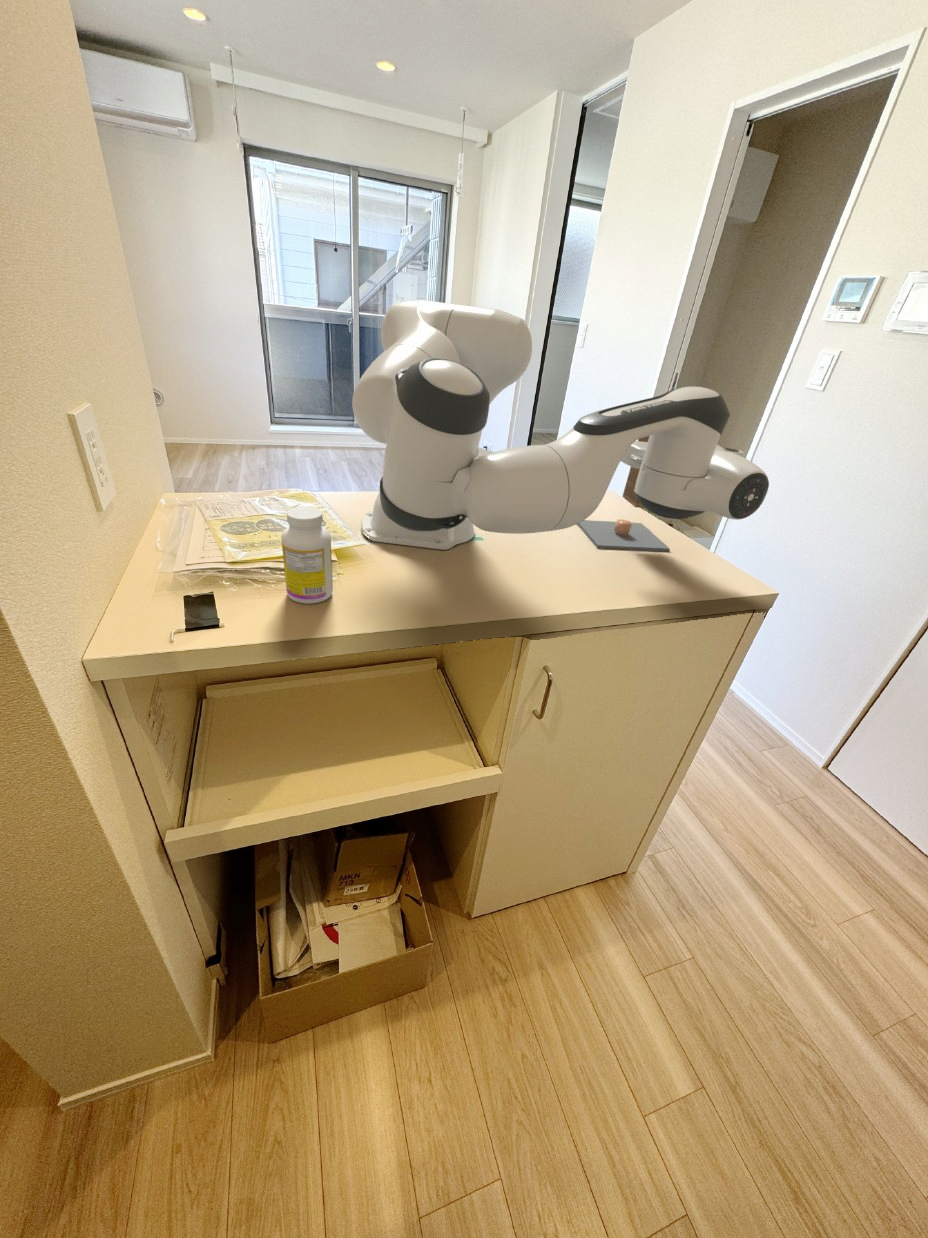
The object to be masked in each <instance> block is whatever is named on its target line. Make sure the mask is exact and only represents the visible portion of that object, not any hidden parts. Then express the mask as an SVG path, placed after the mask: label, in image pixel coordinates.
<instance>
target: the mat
mask: <svg viewBox="0 0 928 1238" xmlns="http://www.w3.org/2000/svg"><path fill="white" fill-rule="evenodd" d="M616 522H617V521H608V520H606V521H605V520H591V519H590V520H587V519H585V520H583V521H582V522H580V523H578V524H576V525H577V526H578V527H579V528H580V529H581V531H582V532H583V533H584V534H585V535H586V537H587V538H588V539H589V540H590V542H591V543H592V544H593V545H594V546H595V547H596V548H597V549H611V550H612V549H613V550H614V549H615V550H632V551H633V550H635V551H655V552H657V551H658V552H670V549H671V548H670V547H669V546H667V544H665V543H664V542H663V541H662V540H661V539H659V537H658V536H656V535H655V534H654V533H653V532H652V531H651V530H650V529H649V528H648V527H646V526H645V525H644V524H643V523H641V522H631V523H632V525H631V529H630V532H629V533H628V534H627V535H626V536H621V535H618V534H616V531H615V530H614V529H615V525H616Z"/></svg>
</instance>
